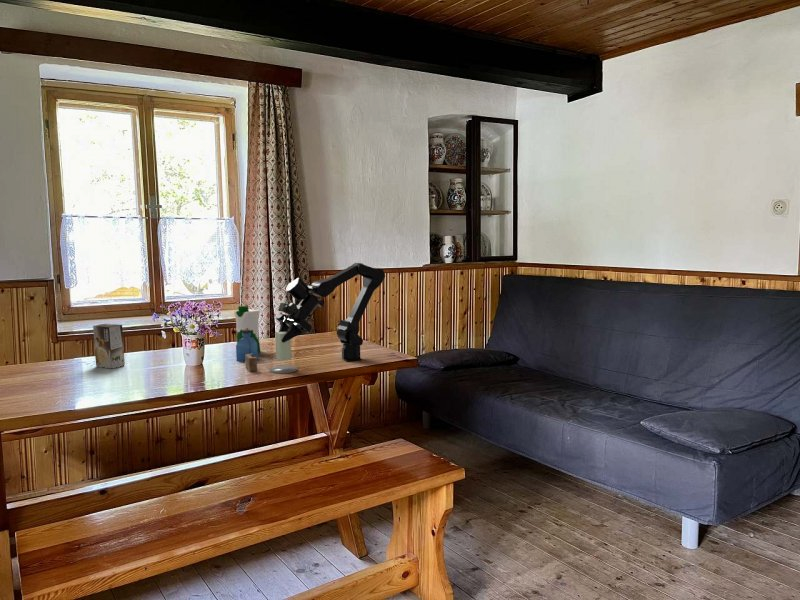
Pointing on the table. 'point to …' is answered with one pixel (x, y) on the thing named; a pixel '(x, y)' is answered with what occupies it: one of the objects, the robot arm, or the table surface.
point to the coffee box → (109, 345)
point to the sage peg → (282, 347)
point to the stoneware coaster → (283, 369)
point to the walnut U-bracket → (250, 362)
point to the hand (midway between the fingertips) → (279, 341)
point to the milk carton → (247, 323)
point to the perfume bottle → (246, 346)
